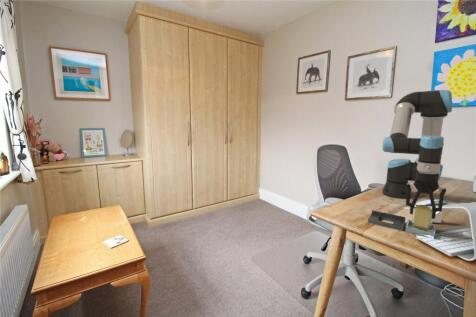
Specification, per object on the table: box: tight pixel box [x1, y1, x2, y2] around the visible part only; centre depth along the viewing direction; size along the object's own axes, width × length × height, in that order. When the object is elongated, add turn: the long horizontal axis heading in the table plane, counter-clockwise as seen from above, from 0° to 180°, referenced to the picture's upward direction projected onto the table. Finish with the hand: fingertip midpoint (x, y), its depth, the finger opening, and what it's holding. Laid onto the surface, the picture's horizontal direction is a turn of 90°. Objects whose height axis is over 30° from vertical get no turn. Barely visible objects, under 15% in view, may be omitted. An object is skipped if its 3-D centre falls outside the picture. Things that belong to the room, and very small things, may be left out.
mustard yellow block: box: [413, 204, 432, 231], centre depth 103 cm, size 5×5×10 cm
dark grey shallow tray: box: [367, 209, 406, 232], centre depth 112 cm, size 10×14×3 cm
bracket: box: [431, 206, 444, 224], centre depth 117 cm, size 13×7×8 cm, turn 169°
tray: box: [405, 219, 436, 237], centre depth 104 cm, size 10×10×2 cm
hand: (421, 222), depth 104 cm, fingers closed on mustard yellow block, 5 cm apart
